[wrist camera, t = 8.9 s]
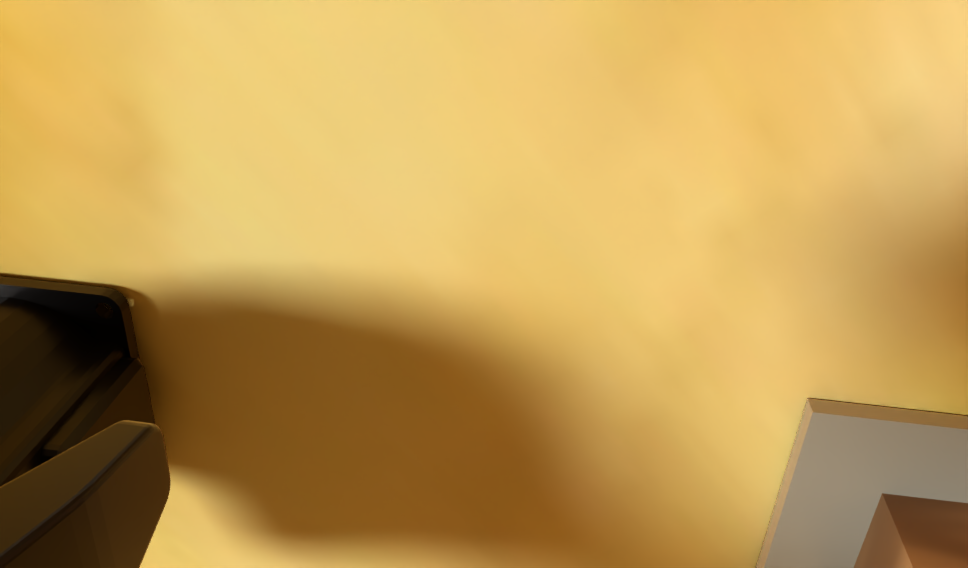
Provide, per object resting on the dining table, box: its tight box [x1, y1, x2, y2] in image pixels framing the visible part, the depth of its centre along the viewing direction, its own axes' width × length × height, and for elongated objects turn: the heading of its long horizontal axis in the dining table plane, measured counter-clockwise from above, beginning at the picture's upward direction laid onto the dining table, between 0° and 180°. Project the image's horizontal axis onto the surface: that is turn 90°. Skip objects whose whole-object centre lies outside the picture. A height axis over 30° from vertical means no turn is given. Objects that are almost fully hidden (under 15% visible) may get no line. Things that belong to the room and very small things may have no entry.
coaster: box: [756, 398, 968, 568], centre depth 24 cm, size 10×10×1 cm
